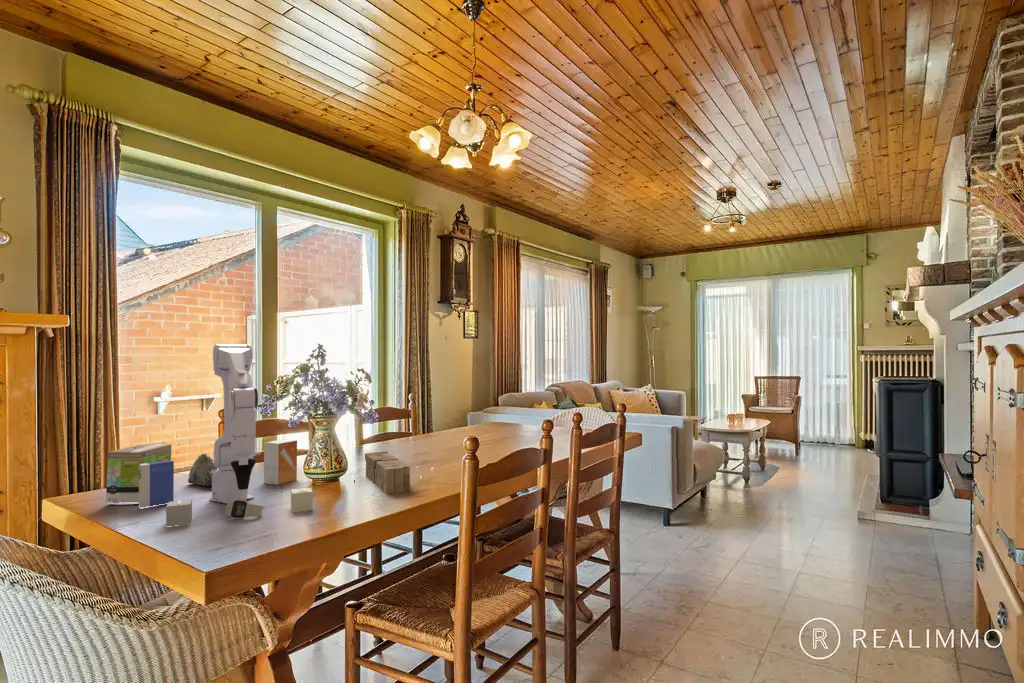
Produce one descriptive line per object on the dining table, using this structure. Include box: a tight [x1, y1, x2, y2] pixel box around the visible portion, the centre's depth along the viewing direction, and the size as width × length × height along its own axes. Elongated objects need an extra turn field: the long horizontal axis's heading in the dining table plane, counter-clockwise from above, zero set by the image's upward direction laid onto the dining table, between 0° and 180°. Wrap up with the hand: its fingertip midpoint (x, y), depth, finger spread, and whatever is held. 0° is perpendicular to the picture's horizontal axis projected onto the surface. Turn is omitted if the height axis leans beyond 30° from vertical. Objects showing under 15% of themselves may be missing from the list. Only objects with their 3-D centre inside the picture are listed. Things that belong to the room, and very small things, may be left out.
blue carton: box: [138, 459, 175, 507], centre depth 156 cm, size 8×3×12 cm, turn 139°
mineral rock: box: [187, 453, 218, 487], centre depth 179 cm, size 13×11×10 cm
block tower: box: [364, 450, 411, 495], centre depth 182 cm, size 8×8×29 cm
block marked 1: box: [165, 499, 193, 527], centre depth 139 cm, size 5×5×5 cm
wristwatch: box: [224, 498, 264, 520], centre depth 145 cm, size 9×6×5 cm
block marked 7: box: [290, 487, 314, 513], centre depth 151 cm, size 5×5×5 cm
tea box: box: [105, 443, 172, 503], centre depth 164 cm, size 15×10×15 cm
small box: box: [263, 438, 298, 486], centre depth 185 cm, size 8×6×13 cm
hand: (243, 489), depth 145 cm, fingers closed
